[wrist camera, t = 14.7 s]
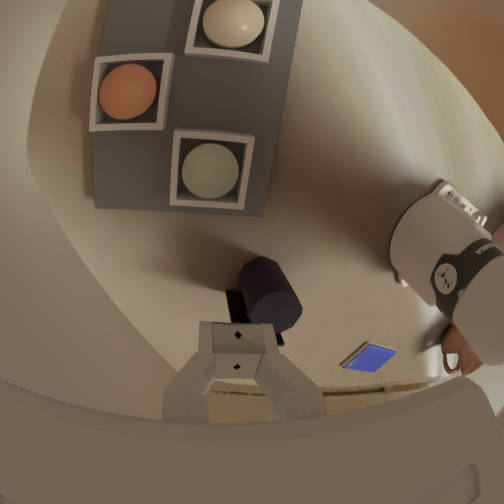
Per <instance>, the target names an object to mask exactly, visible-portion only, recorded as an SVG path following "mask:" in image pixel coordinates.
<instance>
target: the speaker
mask: <svg viewBox="0 0 504 504" xmlns="http://www.w3.org/2000/svg"><path fill="white" fill-rule="evenodd" d="M239 284H240V287H241V291H242V292H237V291H226V298H227V303H228V309H229V314H230V319H231V323H259V324H260V323H263V324H272V325H273V328H274V332H275V336H276V340H277V345H278V346H284V341H283V338H282V336H281V334H280V333H281V332H283V331H285V330H287V329H289V328H291V327H293V326H294V324H295V323H296V322H297V320H298V319H299V317H300V316H301V315H302V306H301V304H300V302H299V299H298V297H297V295H296V294H295V292H294V290H293V289H292V287H291V285H290V284H289V282H288V280H287V279H286V277H285V275H284V273H283V272H282V270H281V268H280V267H279V265H278V263H277V262H275V261H272V260H270V259H268V258H265V257H262V258H256V259H254V260H252V261H250V262H249V263H247V264H245V266H244V267H243V269H242V271H241V273H240V275H239Z"/></svg>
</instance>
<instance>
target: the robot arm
mask: <svg viewBox="0 0 504 504" xmlns="http://www.w3.org/2000/svg"><path fill="white" fill-rule="evenodd" d="M486 220H487V217H486V216H485V215H483V214H482V213H481V212H480V211H479V210H478V209H477V208H476V207H475V206H474V205H473V204H472V203H470V202H469V201H468V200H467V199H466V198H465V197H464V196H463V195H461V194H460V193H459V192H458V191H457V190H456V189H454V188H453V187H452V186H451V185H449V184H448V183H447V182H445V181H443V182H441V183H440V184H439V185H438V186H437V187H436V188H435V189H434V190H433V192H432V193H430V194H429V195H427V196H425V197H423V198H421V199H420V200H418V201H417V202H416V203H414V204H413V205H412V206H411V207H410V208H409V209H408V210H407V212H406V213H405V214H404V215H403V217H402V218H401V220H400V221H399V223H398V225H397V227H396V229H395V231H394V234H393V237H392V240H391V245H390V260H391V263H392V265H393V267H394V268H395V269H396V271H397V272H398V281H399V283H400V284H401V285H402V286H403V287H407V286H410V287H411V288H412V289H413V290H414V291H415V292H416V293H417V294H418V295H419V296H420V297H421V298H422V299H423V300H424V301H425V302H426V303H427V304H428V305H429V306H431V307H432V306H437V307H438V309H439V310H440V311H441V313H442V315H443V316H444V317H445V319H447V320H448V321H449V322H450V323H451V324H452V325H456V326H457V328H458V329H459V330H460V332H461V333H462V335H463V336H464V337H465V339H466V340H467V342H468V343H469V344H470V346H471V347H472V349H473V350H474V352H475V353H476V355H477V356H478V358H479V359H480V360H481V361H482V362H483V363H485V364H487V365H490V366H496V365H501V364H504V253H503V252H502V251H501V249H500V248H499V247H498V246H497V245H496V244H494V243H493V242H492V241H491V234H490V232H488V231H487V230H486V229H485V228H483V226H484V224H485V222H486ZM214 378H215V379H224V378H238V379H254V380H255V381H256V382H257V384H258V385H259V386H260V387H261V389H262V390H263V391H264V392H265V394H266V395H267V396H268V397H269V399H270V400H271V401H272V402H273V403H274V404H275V406H276V408H275V409H274V411H273V413H272V414H271V416H270V418H269V421H263V422H243V423H210V422H209V402H208V396H206V395H205V393H206V391H207V390H208V389H209V387H210V385H211V384H212V382H213V381H214ZM0 504H504V406H503V407H502V409H501V410H500V411H499V412H498V414H497V415H496V416H495V414H494V412H493V409H492V407H491V405H490V403H489V400H488V398H487V396H486V394H485V393H484V391H483V390H482V388H481V387H480V386H478V385H477V384H476V383H474V382H473V381H471V380H470V379H469V378H467V377H465V376H459V377H456V378H454V379H452V380H449V381H447V382H444V383H441V384H439V385H436V386H433V387H431V388H428V389H425V390H422V391H419V392H416V393H413V394H410V395H407V396H404V397H401V398H397V399H393V400H390V401H386V402H382V403H379V404H375V405H371V406H366V407H362V408H358V409H353V410H348V411H343V412H338V413H333V414H328V411H327V408H326V405H325V401H324V398H323V395H322V391H321V388H319V387H318V386H317V385H316V384H315V383H314V382H313V381H312V380H311V379H309V378H308V377H307V376H306V375H305V374H304V373H303V372H302V371H301V370H300V369H299V368H297V367H296V366H295V365H294V364H293V363H292V362H291V361H290V360H289V359H288V358H287V357H286V356H285V355H284V354H280V353H279V349H278V345H277V340H276V336H275V332H274V328H273V325H272V324H263V323H260V324H259V323H224V322H208V321H200V324H199V346H198V353H195V354H194V355H193V356H192V357H191V358H190V360H189V361H188V362H187V363H186V364H185V366H184V367H183V368H182V369H181V370H180V371H179V373H178V374H177V375H176V376H175V377H174V378H173V380H172V381H171V382H170V383H169V384H168V386H167V387H166V388H165V389H164V391H163V405H162V418H161V419H152V418H144V417H136V416H130V415H123V414H118V413H112V412H107V411H102V410H98V409H93V408H89V407H84V406H80V405H76V404H72V403H69V402H65V401H62V400H58V399H55V398H52V397H48V396H46V395H43V394H39V393H37V392H34V391H31V390H28V389H26V388H23V387H20V386H18V385H15V384H13V383H10V382H8V381H6V380H3V379H1V378H0Z"/></svg>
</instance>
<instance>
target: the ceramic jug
mask: <svg viewBox="0 0 504 504" xmlns="http://www.w3.org/2000/svg"><path fill="white" fill-rule="evenodd" d="M441 348H442V354H443V365H444V368H445V370H446V372H447V373H448V374H455V373H456V372H457V371H458V370H459V368H460V369H461V372H462V375H463V376H465V377H468V376H470V375H471V374H473V373H474V372H475V371H476V370H478V369H479V368H480V367H481V366H482V365H484V363H483V362H482V361H481V360H480V359H479V358H478V356H477V355H476V353H475V352H474V350H473V349H472V347H471V346H470V344H469V343H468V342H467V340H466V339H465V337H464V336H463V335H462V333H461V332H460V330H459V329H458V328H457V326H456V325H451V327H450V328H449V329H448V330H447V332H446V334H445V335H444V337H443V339H442V343H441ZM452 353H458V358H459V360H458V363H457V366H456V367H455V368H454V369H453V370H452V369H450V367H449V366H448V363H447V354H452Z"/></svg>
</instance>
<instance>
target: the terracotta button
mask: <svg viewBox="0 0 504 504" xmlns="http://www.w3.org/2000/svg"><path fill="white" fill-rule="evenodd" d="M158 92H159V84H158V80H157V78H156V76H155V75H154V73H153V72H152V71H150V70H149V69H147V68H145V67H142V66H140V65H136V64H126V65H122V66H120V67H117V68H116V69H114V70H113V71H111V72H110V73H109V74H108V75H107V77H106V78H105V79H104V81H103V83H102V85H101V89H100V103H101V106H102V108H103V109H104V111H105V112H106V113H107V114H108V115H110V116H111V117H113V118H116V119H130V118H133V117H136V116H139V115H141V114H143V113H145V112H146V111H148V110H149V109H150V108H151V107H152V106H153V104H154V103H155V101H156V99H157V96H158Z"/></svg>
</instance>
